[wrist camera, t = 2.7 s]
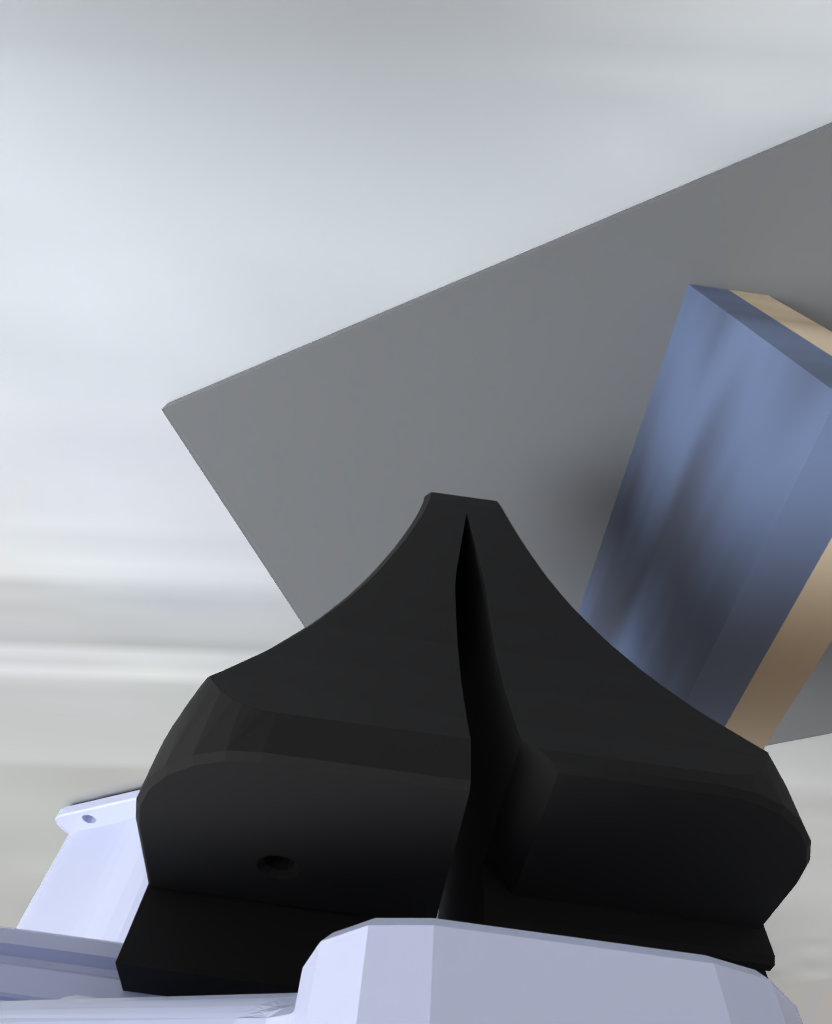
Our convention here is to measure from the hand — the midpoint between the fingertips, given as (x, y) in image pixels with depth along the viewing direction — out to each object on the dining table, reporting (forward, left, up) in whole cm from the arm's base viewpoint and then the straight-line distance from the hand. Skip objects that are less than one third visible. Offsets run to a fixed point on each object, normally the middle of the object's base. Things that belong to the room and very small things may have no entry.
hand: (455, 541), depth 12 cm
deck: (+4, -2, -3) cm, 6 cm away
